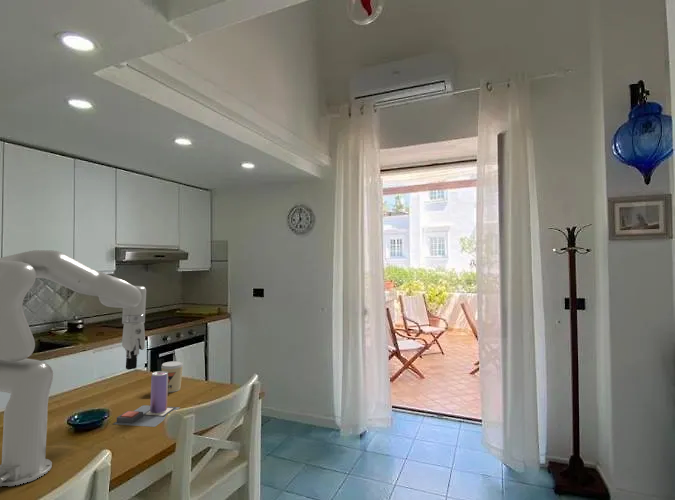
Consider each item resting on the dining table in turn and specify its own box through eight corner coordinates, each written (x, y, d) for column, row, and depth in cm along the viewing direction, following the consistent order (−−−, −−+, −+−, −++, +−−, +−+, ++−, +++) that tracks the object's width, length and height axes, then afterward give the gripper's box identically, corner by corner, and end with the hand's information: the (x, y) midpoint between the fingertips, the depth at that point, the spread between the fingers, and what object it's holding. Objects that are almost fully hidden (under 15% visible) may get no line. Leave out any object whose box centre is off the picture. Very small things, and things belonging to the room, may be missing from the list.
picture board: (154, 429, 134) (155, 421, 134) (112, 426, 136) (113, 418, 136) (180, 409, 152) (180, 402, 152) (142, 407, 154) (143, 400, 154)
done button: (131, 421, 138) (131, 416, 138) (120, 421, 138) (121, 415, 138) (138, 417, 142) (139, 411, 142) (128, 416, 142) (128, 411, 142)
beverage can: (160, 415, 144) (161, 375, 144) (146, 413, 145) (148, 374, 146) (170, 409, 150) (171, 371, 150) (156, 408, 151) (158, 370, 151)
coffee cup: (155, 391, 172) (156, 365, 173) (170, 385, 181) (171, 360, 182) (172, 394, 170) (173, 367, 170) (186, 387, 179) (187, 362, 179)
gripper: (152, 320, 139) (149, 370, 138) (136, 316, 149) (134, 363, 148) (130, 322, 133) (127, 374, 132) (115, 317, 143) (113, 366, 142)
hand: (131, 368), depth 140 cm, fingers closed
